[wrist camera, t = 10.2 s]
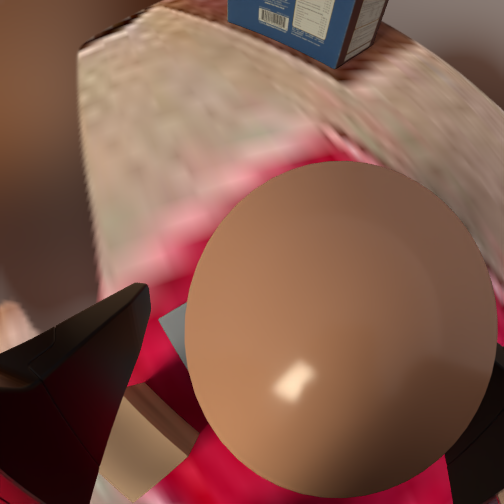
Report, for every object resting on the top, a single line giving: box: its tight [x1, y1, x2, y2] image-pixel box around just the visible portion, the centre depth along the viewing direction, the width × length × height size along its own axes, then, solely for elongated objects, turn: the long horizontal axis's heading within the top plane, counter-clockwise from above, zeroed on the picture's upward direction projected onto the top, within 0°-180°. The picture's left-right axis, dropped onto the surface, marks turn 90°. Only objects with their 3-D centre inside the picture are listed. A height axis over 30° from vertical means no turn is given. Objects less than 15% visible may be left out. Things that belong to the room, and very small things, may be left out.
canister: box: [185, 161, 497, 498], centre depth 10 cm, size 5×5×14 cm
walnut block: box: [99, 382, 200, 503], centre depth 13 cm, size 4×4×4 cm
